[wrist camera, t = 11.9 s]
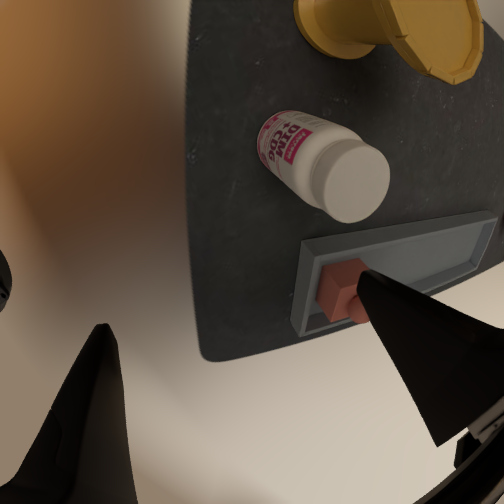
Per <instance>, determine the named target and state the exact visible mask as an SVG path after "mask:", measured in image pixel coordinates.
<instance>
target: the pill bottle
mask: <svg viewBox="0 0 504 504" xmlns="http://www.w3.org/2000/svg"><path fill="white" fill-rule="evenodd" d="M257 150H258V154H259V157H260V159H261V161H262V162H263V164H264V165H265V166H266V167H267V168H268V169H269V170H270V171H271V172H273V173H274V174H275V175H276V176H277V177H278V178H279V179H280V180H282V181H283V182H284V183H285V184H286V185H287V186H288V187H289V188H290V189H292V190H293V191H294V192H295V193H296V194H297V195H298V196H299V197H300V198H301V199H302V200H304V201H305V202H306V203H308V204H309V205H311V206H314V207H316V208H320V209H323V210H324V211H325V212H326V213H328V214H329V215H330V216H331V217H333V218H334V219H335V220H337V221H340V222H343V223H354V222H358V221H361V220H363V219H364V218H366V217H368V216H369V215H370V214H372V213H373V212H374V211H375V210H376V209H377V208H378V207H379V205H380V204H381V202H382V201H383V199H384V197H385V195H386V193H387V190H388V186H389V181H390V170H389V165H388V163H387V160H386V159H385V157H384V156H383V154H382V153H381V152H379V151H378V150H377V149H375V148H373V147H371V146H369V145H368V144H366V143H364V142H363V141H362V139H361V138H360V137H359V136H358V135H357V134H356V133H354V132H353V131H351V130H350V129H348V128H346V127H343V126H341V125H338V124H335V123H333V122H330V121H327V120H325V119H322V118H319V117H316V116H313V115H310V114H306V113H303V112H299V111H293V110H287V111H282V112H279V113H277V114H275V115H273V116H272V117H270V118H269V119H268V120H267V121H266V122H265V123H264V125H263V126H262V128H261V130H260V132H259V135H258V139H257Z"/></svg>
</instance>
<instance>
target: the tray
mask: <svg viewBox="0 0 504 504" xmlns="http://www.w3.org/2000/svg"><path fill="white" fill-rule="evenodd" d="M497 220H498V217H497V216H496V215H494V214H493V213H492V212H490V211H489V210H484V211H477V212H471V213H465V214H459V215H453V216H446V217H440V218H434V219H428V220H422V221H416V222H410V223H404V224H397V225H391V226H385V227H379V228H373V229H367V230H361V231H355V232H349V233H343V234H337V235H331V236H325V237H319V238H313V239H307V240H302V241H301V247H300V255H299V262H298V270H297V277H296V283H295V290H294V297H293V303H292V310H291V316H290V322H291V324H292V326H293V327H294V329H295V331H296V333H297V334H298V336H299V337H302V336H306V335H309V334H312V333H315V332H319V331H322V330H325V329H328V328H331V327H335V326H338V325H341V324H344V323H347V322H350V321H353V320H352V319H351V318H350V317H346V318H343V319H340V320H337V321H334V322H330V320H329V319H328V317H327V316H326V315H325V313H324V312H323V310H322V309H321V307H320V306H319V304H318V303H317V301H316V300H315V299H316V294H317V290H318V285H319V280H320V276H321V271H322V266H324V265H329V264H334V263H338V262H343V261H347V260H352V259H356V258H360V259H361V260H362V261H363V262H364V264H365V265H366V266H367V267H368V268H369V269H372V270H375V271H377V272H379V273H381V274H383V275H385V276H387V277H390V278H392V279H394V280H396V281H398V282H400V283H402V284H404V285H406V286H409V287H411V288H413V289H415V290H417V291H419V292H421V293H423V294H424V293H426V292H428V291H431V290H433V289H435V288H438V287H440V286H442V285H444V284H447V283H449V282H451V281H453V280H455V279H457V278H460V277H462V276H464V275H466V274H468V273H470V272H472V271H474V270H476V269H477V267H478V265H479V263H480V261H481V259H482V257H483V255H484V252H485V250H486V248H487V245H488V243H489V241H490V238H491V236H492V233H493V231H494V228H495V225H496V223H497Z"/></svg>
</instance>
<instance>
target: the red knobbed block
mask: <svg viewBox="0 0 504 504" xmlns="http://www.w3.org/2000/svg"><path fill="white" fill-rule="evenodd" d="M365 270H369V268H368V267H367V266H366V265H365V264H364V262H363V261H362V260H361V259H360V258H356V259H352V260H347V261H343V262H338V263H334V264H329V265H324V266H322V271H321V276H320V280H319V285H318V290H317V294H316V299H315V300H316V301H317V303H318V304H319V306H320V307H321V309H322V310H323V312H324V313H325V315H326V316H327V317H328V319H329V320H330V322H334V321H337V320H340V319H343V318H346V317H350V318H351V319H352V320H353V321H354V322H356V323H359V324H362V323H367V322H369V321H370V320H369V318H368V315H367V313H366V311H365V309H364V307H363V305H362V303H361V301H360V298H359V296H358V294H357V291H356V287H357V284H358V280H359V277H360V274H361V272H362V271H365Z"/></svg>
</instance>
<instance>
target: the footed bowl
mask: <svg viewBox="0 0 504 504" xmlns="http://www.w3.org/2000/svg"><path fill="white" fill-rule="evenodd" d="M293 12H294V17H295V21H296V24H297V26H298V28H299V30H300V32H301V34H302V35H303V36H304V38H305V39H306V40H307V41H308V42H309V43H310V44H311V45H312V46H313V47H314V48H315V49H317V50H318V51H320V52H321V53H323V54H325V55H327V56H330V57H333V58H338V59H357V58H360V57H363V56H365V55H366V54H368V53H369V52H370V51H372V49H373V48H374V47H375V46H376V45H392V46H393V47H394V48H395V50H396V51H397V52H398V54H399V55H400V56H401V57H402V58H403V59H404V60H405V62H407V63H408V64H409V65H410V66H411V67H412V68H413V69H415V70H416V71H417V72H419V73H421V74H422V75H424V76H426V77H429V78H433V79H437V80H440V81H442V82H444V83H447V84H451V85H453V84H454V85H456V84H458V83H461V82H463V81H465V80H467V79H470V78H472V76H474V74H475V71H476V69H477V67H478V65H479V63H480V60H481V58H482V53H481V52H483V41H484V31H483V24H482V23H481V22H483V20H482V17H481V13H480V10H479V7H478V3H477V0H294V4H293Z"/></svg>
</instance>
